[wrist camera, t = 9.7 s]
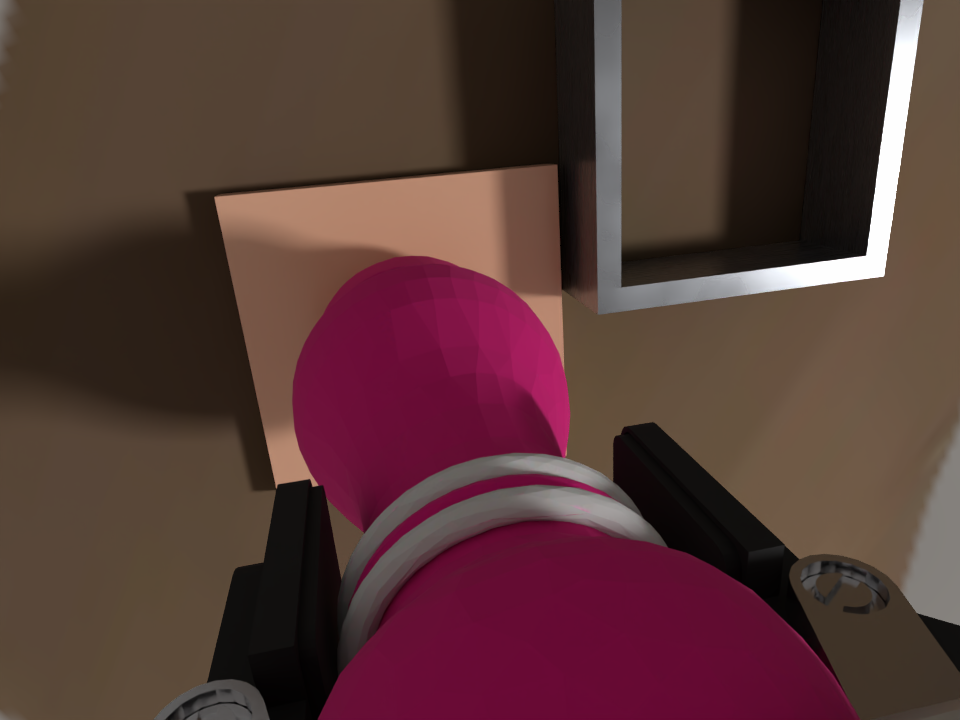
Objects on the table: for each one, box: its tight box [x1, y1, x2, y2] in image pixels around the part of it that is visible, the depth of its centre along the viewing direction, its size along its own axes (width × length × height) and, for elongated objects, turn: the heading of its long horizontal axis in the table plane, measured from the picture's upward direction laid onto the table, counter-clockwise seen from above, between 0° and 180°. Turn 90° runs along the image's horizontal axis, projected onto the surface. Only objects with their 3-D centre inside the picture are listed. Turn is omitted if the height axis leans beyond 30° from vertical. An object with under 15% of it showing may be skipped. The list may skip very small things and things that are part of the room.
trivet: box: [214, 163, 567, 489], centre depth 23 cm, size 11×11×1 cm
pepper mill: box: [292, 256, 860, 720], centre depth 12 cm, size 7×7×20 cm
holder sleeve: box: [554, 0, 923, 315], centre depth 22 cm, size 11×11×4 cm
